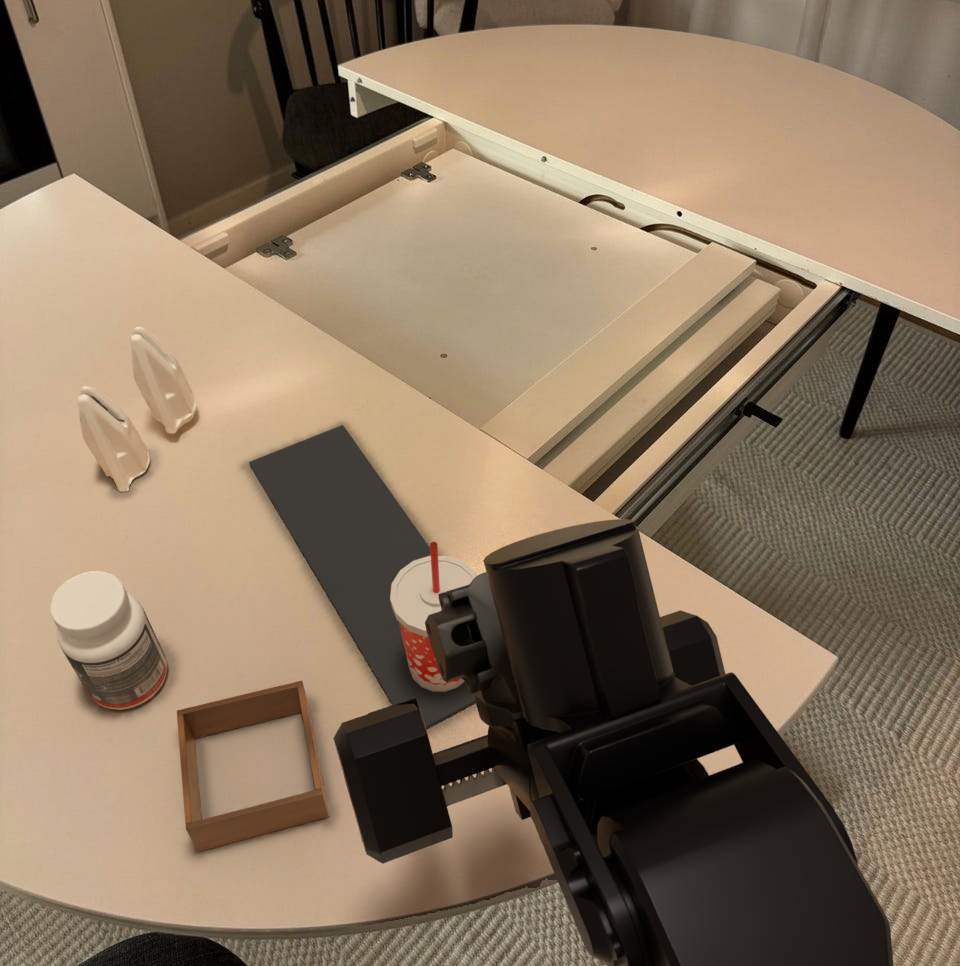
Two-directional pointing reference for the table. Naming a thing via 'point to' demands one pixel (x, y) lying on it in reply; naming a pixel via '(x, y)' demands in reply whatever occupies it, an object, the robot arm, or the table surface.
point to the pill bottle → (108, 640)
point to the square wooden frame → (231, 717)
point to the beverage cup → (425, 610)
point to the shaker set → (113, 428)
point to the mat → (355, 552)
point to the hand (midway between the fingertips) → (494, 689)
